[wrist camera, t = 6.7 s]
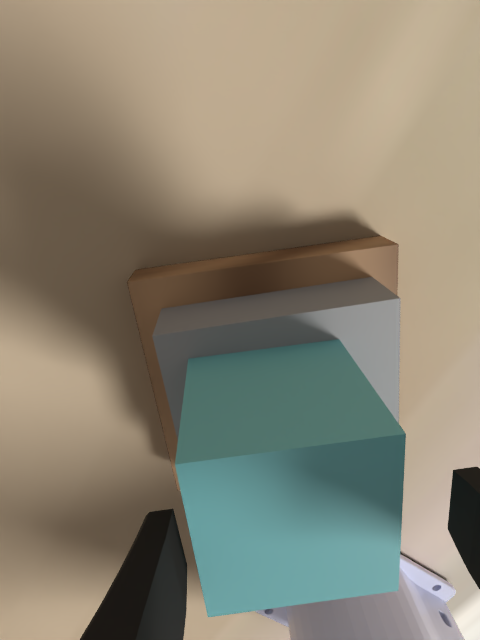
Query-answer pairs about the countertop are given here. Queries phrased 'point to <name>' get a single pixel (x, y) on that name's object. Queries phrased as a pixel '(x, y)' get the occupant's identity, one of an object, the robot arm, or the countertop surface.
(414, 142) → the countertop surface
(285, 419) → the teal block
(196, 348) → the grey top slab
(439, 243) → the countertop surface
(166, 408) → the walnut base slab
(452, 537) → the robot arm
